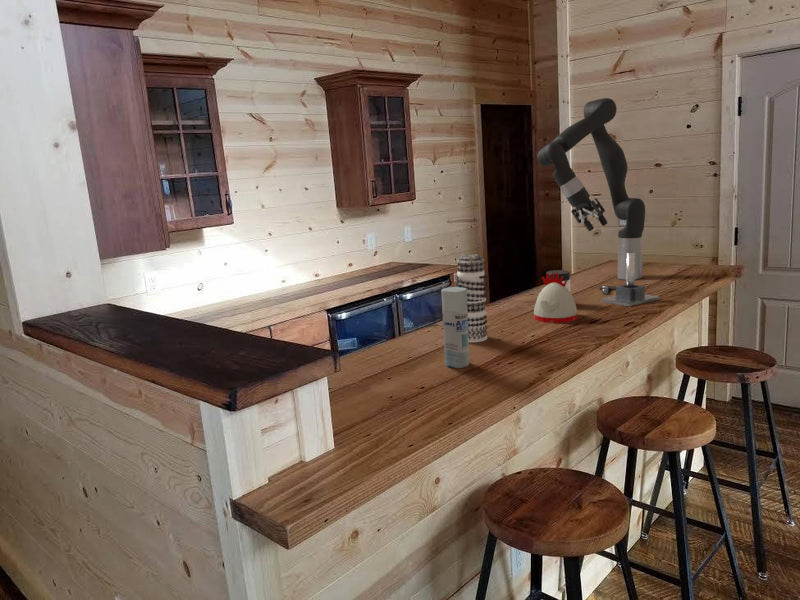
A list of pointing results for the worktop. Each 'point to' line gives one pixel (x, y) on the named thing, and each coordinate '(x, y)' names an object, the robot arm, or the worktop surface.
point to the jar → (561, 273)
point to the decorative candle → (474, 294)
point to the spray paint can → (455, 326)
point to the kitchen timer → (555, 302)
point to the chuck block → (630, 296)
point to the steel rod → (630, 269)
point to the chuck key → (607, 288)
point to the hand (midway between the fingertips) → (598, 227)
